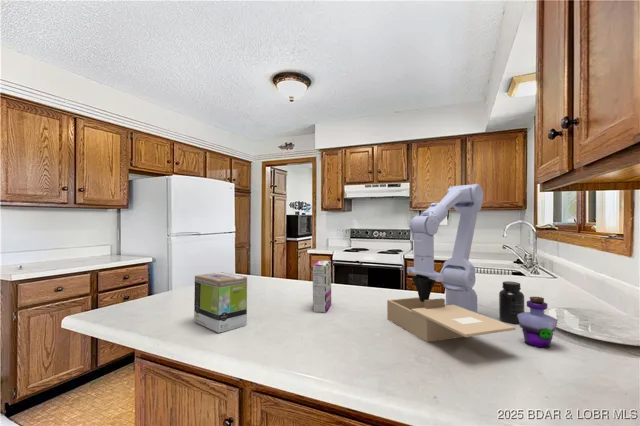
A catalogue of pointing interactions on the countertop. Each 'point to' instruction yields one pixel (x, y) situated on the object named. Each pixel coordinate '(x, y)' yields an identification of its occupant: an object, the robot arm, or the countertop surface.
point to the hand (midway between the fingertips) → (424, 301)
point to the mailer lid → (460, 319)
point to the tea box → (220, 301)
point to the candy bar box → (321, 286)
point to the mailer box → (416, 320)
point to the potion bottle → (537, 324)
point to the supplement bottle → (510, 302)
